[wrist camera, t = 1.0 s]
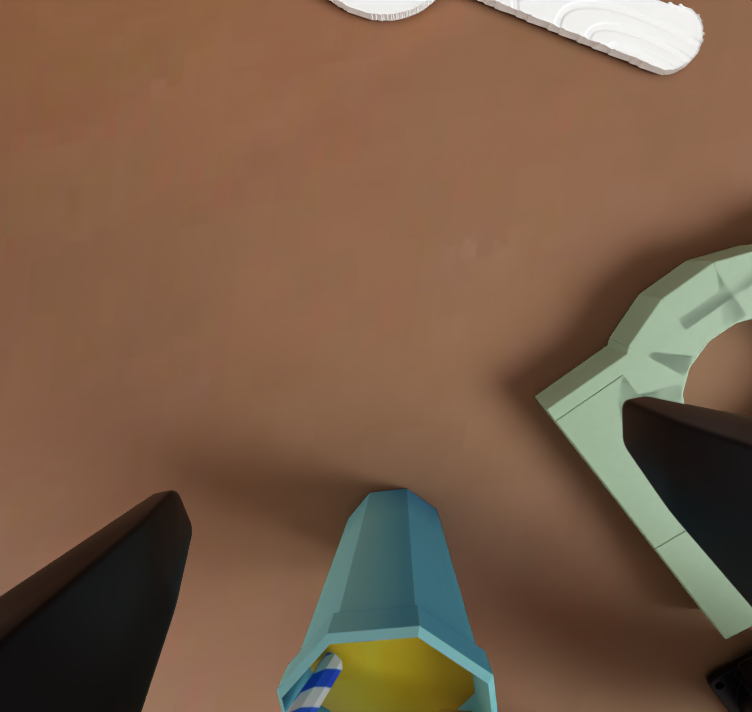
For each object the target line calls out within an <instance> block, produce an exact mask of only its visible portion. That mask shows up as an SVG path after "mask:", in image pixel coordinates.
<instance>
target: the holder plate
mask: <svg viewBox="0 0 752 712" xmlns="http://www.w3.org/2000/svg"><path fill="white" fill-rule="evenodd" d="M750 319H752V244H750V245H739V246H735V247H732V248H728V249H725V250H721V251H718V252H714V253H711V254H707V255H704V256H700V257H697V258H693V259H690V260H687V261H685V262H683V263H682V264H680V265H679V266H678V267H676V268H675V269H673V270H672V271H671V272H669V273H668V274H666V275H665V276H664V277H662V278H661V279H659V280H658V281H657V282H655V283H654V284H653V285H651V286H650V287H648V288H647V289H646V290H644V291H643V292H641V293H640V294H639V295H638V296H637V298H636V299H635V301H634V302H633V304H632V305H631V307H630V308H629V310H628V311H627V312H626V314H625V315H624V317H623V318H622V320H621V321H620V323H619V324H618V326H617V327H616V329H615V330H614V331H613V333H612V334H611V336H610V337H609V341H608V345H607V346H605V347H604V348H603V349H601V350H600V351H598V352H597V353H596V354H594V355H593V356H591V357H590V358H588V359H587V360H586V361H584V362H583V363H581V364H580V365H579V366H577V367H576V368H574V369H573V370H571V371H570V372H569V373H567V374H566V375H564V376H563V377H561V378H560V379H559V380H557V381H556V382H554V383H553V384H552V385H550V386H549V387H547V388H546V389H544V390H543V391H542V392H540V393H539V394H537V395H536V396H535V398H536V399H537V401H538V402H539V403H540V405H541V406H542V407H543V408H544V410H545V411H546V412H547V414H548V415H549V416H550V417H551V419H552V420H553V421H554V422H555V424H556V425H557V426H558V428H559V429H560V430H561V431H562V433H563V434H564V435H565V437H566V438H567V439H568V440H569V442H570V443H571V444H572V446H573V447H574V448H575V449H576V451H577V452H578V453H579V454H580V456H581V457H582V458H583V460H584V461H585V462H586V463H587V465H588V466H589V467H590V469H591V470H592V471H593V472H594V474H595V475H596V476H597V478H598V479H599V480H600V481H601V483H602V484H603V485H604V487H605V488H606V489H607V490H608V492H609V493H610V494H611V495H612V497H613V498H614V499H615V501H616V502H617V503H618V504H619V506H620V507H621V508H622V510H623V511H624V512H625V513H626V515H627V516H628V517H629V519H630V520H631V521H632V522H633V524H634V525H635V526H636V527H637V529H638V530H639V531H640V533H641V534H642V535H643V536H644V538H645V539H646V540H647V542H648V543H649V544H650V545H651V547H652V548H653V549H654V551H655V552H656V553H657V554H658V556H659V557H660V558H661V560H662V561H663V562H664V563H665V565H666V566H667V567H668V568H669V570H670V571H671V572H672V574H673V575H674V576H675V577H676V579H677V580H678V581H679V583H680V584H681V585H682V586H683V588H684V589H685V590H686V592H687V593H688V594H689V595H690V597H691V598H692V599H693V600H694V602H695V603H696V604H697V606H698V607H699V608H700V609H701V611H702V612H703V613H704V614H705V616H706V617H707V618H708V619H709V620H710V622H711V623H712V624H713V625H714V627H715V628H716V629H717V630H718V631H719V633H720V634H721V635H722V636H723V638H724V639H728V638H730V637H732V636H734V635H736V634H738V633H739V632H741V631H743V630H745V629H747V628H749V627H751V626H752V607H751V606H750V605H749V604H748V602H747V601H746V600H745V599H744V598H743V597H742V595H741V594H740V593H739V592H738V591H737V590H736V588H735V587H734V586H733V585H732V584H731V583H730V581H729V580H728V579H727V578H726V577H725V576H724V574H723V573H722V572H721V571H720V570H719V569H718V567H717V566H716V565H715V564H714V563H713V562H712V560H711V559H710V558H709V557H708V556H707V555H706V554H705V552H704V551H703V550H702V549H701V548H700V547H699V545H698V544H697V543H696V542H695V541H694V540H693V538H692V537H691V536H690V535H689V534H688V533H687V531H686V530H685V529H684V528H683V527H682V526H681V524H680V523H679V522H678V521H677V520H676V518H675V517H674V516H673V515H672V513H671V512H670V511H669V510H668V508H667V507H666V506H665V504H664V503H663V501H662V500H661V499H660V497H659V496H658V494H657V493H656V491H655V490H654V488H653V487H652V486H651V484H650V483H649V481H648V480H647V478H646V477H645V475H644V474H643V472H642V471H641V470H640V468H639V467H638V465H637V464H636V462H635V461H634V459H633V458H632V457H631V455H630V454H629V452H628V451H627V449H626V447H625V445H624V442H623V429H622V406H623V403H624V402H625V401H626V400H628V399H632V398H637V397H642V396H648V397H653V398H658V399H663V400H668V401H673V402H678V403H683V404H684V398H683V391H684V387H685V383H686V380H687V376H688V372H689V369H690V366H691V365H692V364H693V362H694V361H695V360H696V358H697V357H698V356H699V354H700V353H701V352H702V350H703V349H704V347H705V346H706V345H707V343H708V342H709V341H710V340H712V339H713V338H715V337H716V336H718V335H719V334H721V333H722V332H724V331H725V330H726V329H728V328H729V327H731V326H732V325H734V324H735V323H739V322H742V321H746V320H750Z"/></svg>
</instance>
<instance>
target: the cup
mask: <svg viewBox="0 0 752 712" xmlns="http://www.w3.org/2000/svg"><path fill="white" fill-rule="evenodd" d="M277 694H278V698H279V702H280V706H281V710H282V712H498V710H497V702H496V693H495V685H494V676H493V673H492V670H491V667H490V664H489V662H488V659H487V656H486V653H485V651H484V650H483V649H481V648H480V647H478V646H477V645H475V641H474V638H473V634H472V631H471V627H470V624H469V620H468V617H467V613H466V610H465V606H464V603H463V599H462V596H461V593H460V589H459V586H458V582H457V579H456V575H455V572H454V568H453V565H452V561H451V558H450V554H449V551H448V547H447V544H446V540H445V537H444V533H443V530H442V526H441V523H440V519H439V516H438V512H437V509H435V508H434V507H433V506H431V505H430V504H428V503H427V502H425V501H424V500H423V499H421V498H420V497H418V496H417V495H415V494H414V493H413V492H411V491H410V490H408V489H398V490H389V491H379V492H370V493H369V494H368V495H367V497H366V498H365V499H364V500H363V501H362V503H361V504H360V505H359V506H358V507H357V509H356V510H355V511H354V512H353V514H352V515H351V516H350V517H349V518H348V521H347V524H346V526H345V529H344V532H343V535H342V537H341V540H340V543H339V546H338V548H337V551H336V554H335V557H334V559H333V562H332V565H331V568H330V571H329V573H328V576H327V579H326V582H325V584H324V587H323V590H322V593H321V595H320V598H319V601H318V604H317V606H316V609H315V612H314V615H313V617H312V620H311V623H310V626H309V629H308V631H307V634H306V637H305V640H304V642H303V645H302V648H301V651H300V652H299V653H298V654H297V655H296V657H295V658H294V659H293V660H292V661H291V662H290V663H289V665H288V666H287V668H286V670H285V673H284V675H283V677H282V680H281V682H280V684H279V687H278V689H277Z"/></svg>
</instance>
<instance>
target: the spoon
mask: <svg viewBox="0 0 752 712" xmlns="http://www.w3.org/2000/svg"><path fill="white" fill-rule="evenodd" d="M330 1H332V3H335V5H337V6H338V7H341V8H343V9H344V10H346V11H347V12H349V13H352V14H355V15H358V16H361V17H364V18H367V19H370V20H376V21H377V20H380V21H382V20H383V21H384V20H386V21H388V20H390V21H392V20H393V21H394V20H396V21H397V20H398V19H400V20H401V19H402V18H407V17H410V16H411V15H412V16H413V15H414V14H418V13H419V12H421V11H422V10H424V9H426V8H427V7H428V6H429V5H431V4H432V3H433V2H434V1H435V0H330ZM477 1H480V2H483V3H484V4H486V5H489V6H492V7H494V8H495V9H497V10H500V11H503V12H506V13H509V14H512V15H515V16H516V17H518V18H521V19H524V20H526V22H529V23H532V24H535V25H538V26H541V27H544V28H547V30H549V31H552V32H555V33H558V34H559V35H561V36H564V37H567V38H570V39H573V40H576V41H577V42H578V43H581V44H584V45H587V46H590V47H592V48H593V49H596V50H599V51H602V52H605V53H608V55H610V56H613V57H616V58H619V59H622V60H625V61H628V62H629V63H630V64H633V65H636V66H638V67H639V68H642V69H645V70H648V71H651V72H654V73H657V74H660V75H665V74H667V75H669V74H672V73H676V72H677V71H680V70H681V69H683V68H684V67H685V66H686V65H688V64H689V62H690V61H691V60H692V59H693V58H694V57H695V56H696V54H697V53H699V48H700V46H701V44H702V42H703V41H704V40H703V38H702V37H703V35H704V34H705V33H703V25H702V21H703V20H702V21H701V18H699V15H700V14H697V15H696V13H694V10H692V8H687V7H685V6H682V4H679V5H678V6H677V5H674V4H673V3H671V2H668V3H664V2H661V1H658V0H477Z"/></svg>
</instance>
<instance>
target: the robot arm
mask: <svg viewBox="0 0 752 712" xmlns="http://www.w3.org/2000/svg"><path fill="white" fill-rule="evenodd" d="M622 429H623V442H624V445H625V447H626V449H627V451H628V452H629V454H630V455H631V457H632V458H633V459H634V461H635V462H636V464H637V465H638V467H639V468H640V470H641V471H642V472H643V474H644V475H645V477H646V478H647V480H648V481H649V483H650V484H651V486H652V487H653V488H654V490H655V491H656V493H657V494H658V496H659V497H660V499H661V500H662V501H663V503H664V504H665V506H666V507H667V508H668V510H669V511H670V512H671V513H672V515H673V516H674V517H675V518H676V520H677V521H678V522H679V523H680V524H681V526H682V527H683V528H684V529H685V530H686V531H687V533H688V534H689V535H690V536H691V537H692V538H693V540H694V541H695V542H696V543H697V544H698V545H699V547H700V548H701V549H702V550H703V551H704V552H705V554H706V555H707V556H708V557H709V558H710V559H711V560H712V562H713V563H714V564H715V565H716V566H717V567H718V569H719V570H720V571H721V572H722V573H723V574H724V576H725V577H726V578H727V579H728V580H729V581H730V583H731V584H732V585H733V586H734V587H735V588H736V590H737V591H738V592H739V593H740V594H741V595H742V597H743V598H744V599H745V600H746V601H747V602H748V604H749V605H750V606H751V607H752V417H748V416H743V415H738V414H733V413H728V412H723V411H718V410H713V409H708V408H703V407H698V406H693V405H688V404H683V403H678V402H673V401H668V400H663V399H658V398H653V397H648V396H642V397H637V398H632V399H628V400H626V401H625V402H624V403H623V406H622ZM191 536H192V527H191V522H190V520H189V517H188V515H187V512H186V510H185V507H184V505H183V502H182V500H181V497H180V496H179V494H178V493H177V492H176V491H174V490H170V491H165V492H160V493H156V494H153V495H152V496H150V497H149V498H147V499H146V500H144V501H143V502H141V503H140V504H138V505H137V506H135V507H134V508H132V509H131V510H129V511H128V512H126V513H125V514H123V515H122V516H120V517H119V518H117V519H116V520H114V521H113V522H111V523H110V524H108V525H107V526H105V527H104V528H102V529H101V530H99V531H98V532H96V533H95V534H93V535H92V536H90V537H89V538H87V539H86V540H84V541H83V542H81V543H80V544H78V545H77V546H75V547H74V548H72V549H71V550H69V551H68V552H66V553H65V554H63V555H62V556H60V557H59V558H57V559H56V560H54V561H53V562H51V563H50V564H48V565H47V566H45V567H44V568H42V569H41V570H39V571H38V572H36V573H35V574H33V575H32V576H30V577H29V578H27V579H26V580H24V581H23V582H21V583H20V584H18V585H17V586H15V587H14V588H12V589H11V590H9V591H8V592H6V593H5V594H3V595H2V596H1V597H0V712H141V711H142V708H143V705H144V702H145V699H146V696H147V693H148V690H149V687H150V684H151V681H152V678H153V675H154V672H155V669H156V666H157V663H158V660H159V657H160V654H161V651H162V647H163V644H164V641H165V638H166V635H167V632H168V629H169V626H170V623H171V620H172V617H173V614H174V610H175V607H176V603H177V599H178V595H179V591H180V586H181V582H182V577H183V572H184V568H185V563H186V559H187V554H188V550H189V545H190V541H191ZM706 681H707V683H708V685H709V686H710V688H711V689H712V690H713V692H714V693H715V694H716V695H717V697H718V698H719V699H720V700H721V701H722V703H723V704H724V705H725V706H726V708H727V709H728V710H729V711H730V712H752V652H751V653H749V654H747V655H745V656H743V657H741V658H739V659H737V660H735V661H733V662H731V663H730V664H728V665H726V666H724V667H722V668H720V669H718V670H716V671H714V672H712V673H711V674H709V675H708V676H707V678H706Z"/></svg>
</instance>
